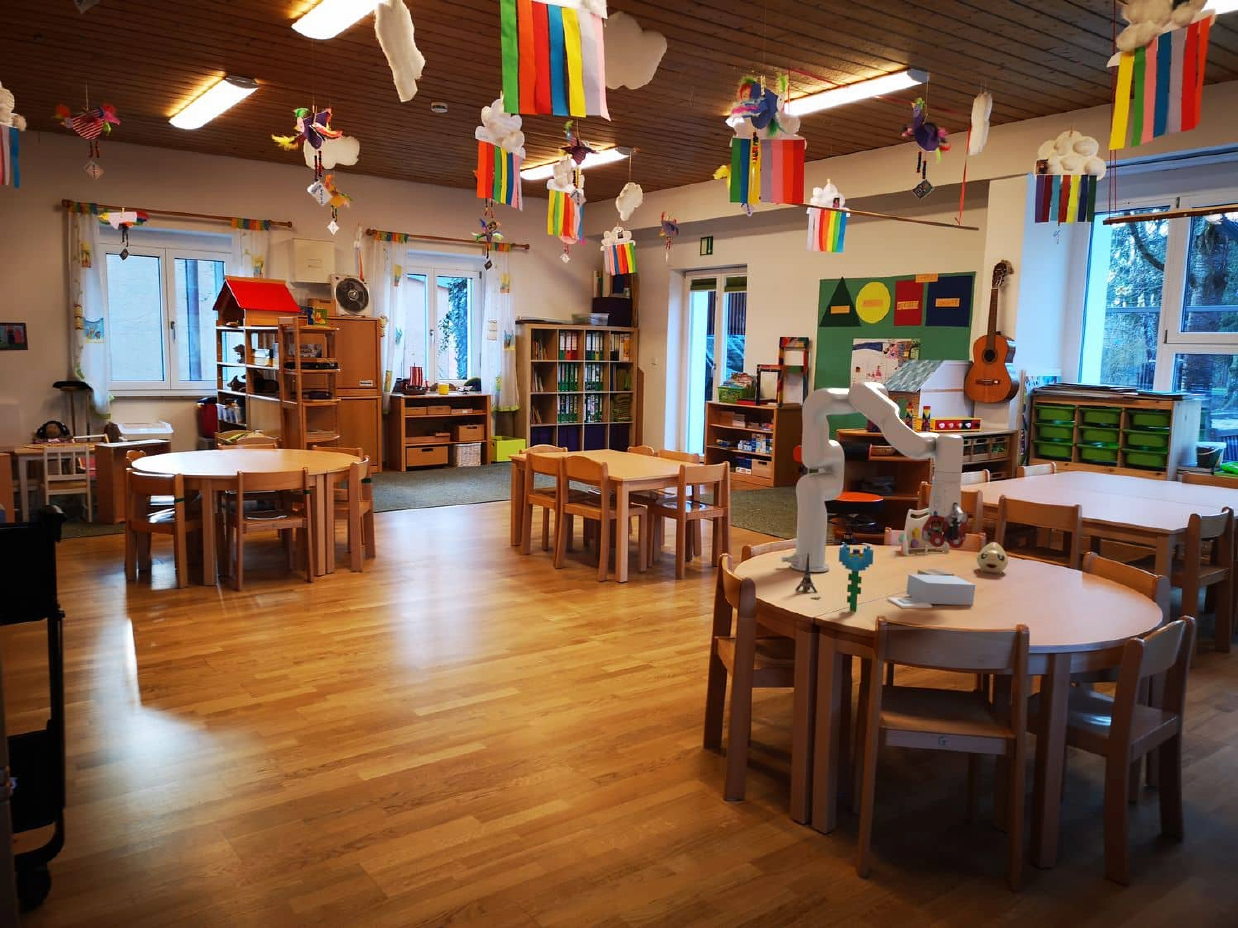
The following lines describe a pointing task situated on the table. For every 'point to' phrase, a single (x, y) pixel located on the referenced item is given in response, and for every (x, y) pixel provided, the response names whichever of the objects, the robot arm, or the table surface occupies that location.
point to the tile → (909, 603)
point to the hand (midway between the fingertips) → (943, 536)
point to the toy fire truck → (936, 534)
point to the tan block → (934, 572)
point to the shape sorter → (917, 535)
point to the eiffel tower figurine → (807, 580)
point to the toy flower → (855, 570)
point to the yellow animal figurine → (992, 558)
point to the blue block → (940, 589)
